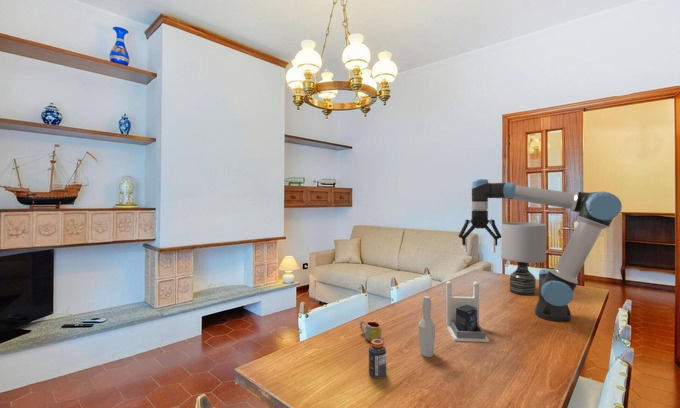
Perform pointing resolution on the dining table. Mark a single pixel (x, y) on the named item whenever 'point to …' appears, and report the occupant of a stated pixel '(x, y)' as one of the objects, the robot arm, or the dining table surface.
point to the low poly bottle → (426, 329)
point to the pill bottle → (377, 359)
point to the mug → (371, 330)
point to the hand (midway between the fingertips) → (479, 251)
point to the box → (466, 318)
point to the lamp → (523, 252)
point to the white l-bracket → (451, 315)
